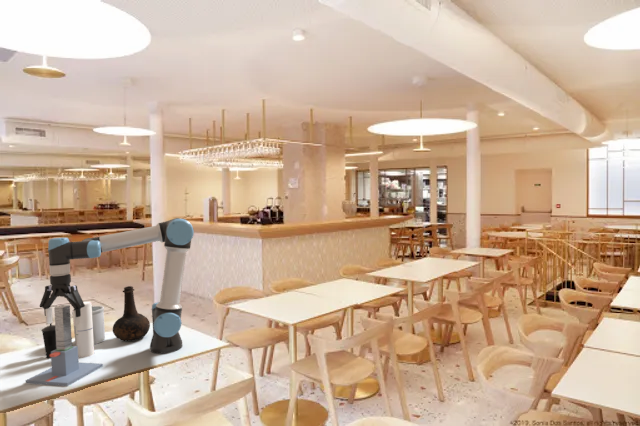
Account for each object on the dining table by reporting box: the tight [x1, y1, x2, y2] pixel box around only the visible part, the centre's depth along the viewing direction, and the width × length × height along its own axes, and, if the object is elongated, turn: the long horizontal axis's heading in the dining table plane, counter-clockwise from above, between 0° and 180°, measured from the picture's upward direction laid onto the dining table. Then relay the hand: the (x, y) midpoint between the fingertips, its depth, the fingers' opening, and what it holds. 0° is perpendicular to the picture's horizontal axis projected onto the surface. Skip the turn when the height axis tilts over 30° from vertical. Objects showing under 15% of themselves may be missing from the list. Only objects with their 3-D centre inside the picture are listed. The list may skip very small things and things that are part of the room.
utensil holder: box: [71, 305, 106, 346], centre depth 225 cm, size 15×15×18 cm
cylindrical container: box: [75, 300, 95, 358], centre depth 206 cm, size 7×7×25 cm
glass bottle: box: [112, 285, 151, 342], centre depth 228 cm, size 18×18×28 cm
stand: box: [25, 345, 104, 387], centre depth 183 cm, size 20×20×11 cm
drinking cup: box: [40, 323, 57, 359], centre depth 205 cm, size 8×8×20 cm
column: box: [53, 304, 73, 351], centre depth 183 cm, size 4×4×22 cm
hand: (63, 324), depth 182 cm, fingers open, 13 cm apart
